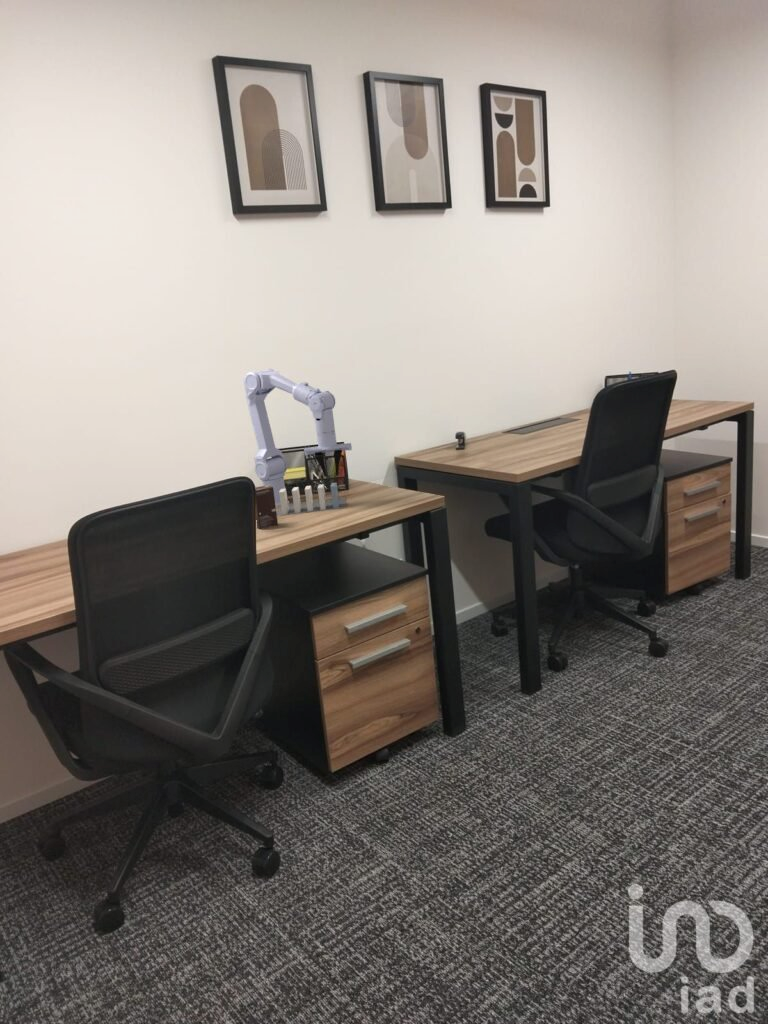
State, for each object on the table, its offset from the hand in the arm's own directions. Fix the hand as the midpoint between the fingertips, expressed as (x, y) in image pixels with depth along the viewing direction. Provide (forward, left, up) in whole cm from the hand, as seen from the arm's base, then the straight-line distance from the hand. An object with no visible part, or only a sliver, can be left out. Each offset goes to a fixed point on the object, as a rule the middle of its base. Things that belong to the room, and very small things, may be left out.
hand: (331, 475), depth 228 cm
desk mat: (-5, -7, -10) cm, 13 cm away
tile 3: (-2, -7, -10) cm, 13 cm away
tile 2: (-3, -11, -10) cm, 15 cm away
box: (+10, -23, -11) cm, 27 cm away
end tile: (0, 0, -10) cm, 10 cm away
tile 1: (-4, -15, -10) cm, 19 cm away
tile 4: (-1, -4, -10) cm, 11 cm away
